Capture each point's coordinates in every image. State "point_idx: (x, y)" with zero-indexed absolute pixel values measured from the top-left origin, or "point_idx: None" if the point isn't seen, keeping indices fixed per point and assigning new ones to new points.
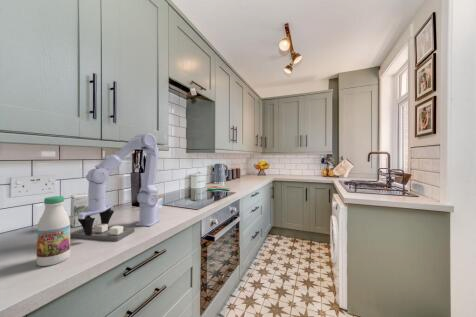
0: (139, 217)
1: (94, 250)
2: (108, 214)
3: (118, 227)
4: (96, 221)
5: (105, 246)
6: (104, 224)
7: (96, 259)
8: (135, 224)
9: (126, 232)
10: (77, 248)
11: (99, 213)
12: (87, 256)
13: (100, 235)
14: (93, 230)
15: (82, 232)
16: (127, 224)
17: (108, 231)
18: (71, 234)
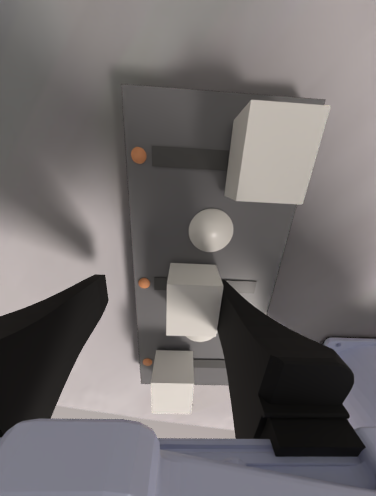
0: (373, 383)
1: None
2: (237, 423)
3: (168, 408)
4: (293, 202)
5: (96, 359)
6: (205, 324)
7: None
8: (328, 343)
9: (195, 384)
10: (42, 284)
11: (260, 350)
12: None
13: (143, 316)
14: (201, 231)
15: (162, 182)
16: (353, 294)
17: None
18: (125, 118)
